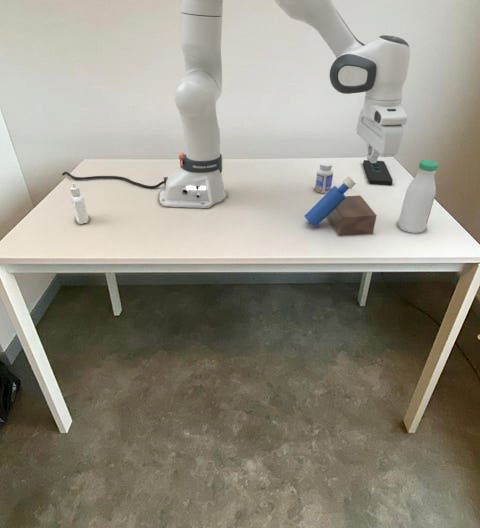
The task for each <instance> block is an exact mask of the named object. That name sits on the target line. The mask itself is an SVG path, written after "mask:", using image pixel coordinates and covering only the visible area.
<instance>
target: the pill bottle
mask: <svg viewBox="0 0 480 528" xmlns="http://www.w3.org/2000/svg"><path fill="white" fill-rule="evenodd" d="M332 168H333V163H332V162H330V161H321V162H320V163H319V168H318V169H317V171H316V177H315V186H314V187H315V191H316V192H317V193H320V194H327V193H328V192H329V191H330V190H331V189H332V187H333V186H332V185H333V178H334V170H333V169H332Z"/></svg>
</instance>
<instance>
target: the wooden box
mask: <svg viewBox="0 0 480 528" xmlns="http://www.w3.org/2000/svg"><path fill="white" fill-rule="evenodd" d="M345 196H346V198H345V199H344V200H343V201H342V202H341V203H340V204H339V205H338V206H337V207H336V208H335V209H334V210H333V211H332V212H331V213H330V214H329V215H328V216H327V218H328V220H329V221H330V224H332V226H333V228H334V230H335V232H336V233H337V234H338V236H355V235H356V236H357V235H373V233H374V231H375V230H374V229H375V225H376V220H377V214H376V213H375V212H374V210H373V209H372V208H371V206H370V205H369V204H368V203H367V202H366V201H365V199H364V198H363V197H362V195H345Z"/></svg>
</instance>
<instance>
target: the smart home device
mask: <svg viewBox="0 0 480 528" xmlns="http://www.w3.org/2000/svg"><path fill="white" fill-rule="evenodd" d="M362 162H363V163H362V166H363V170H364V172H365V175H366V179H367V180H368V181H367V182H368V184H369V185H377V186H392V185H393V181H394V180H393V178H392V175H391V172H390V171H389V169H388V167H387V164H386V162H385V161H384V160H377V162H376V163H371V162H370V161H369V160H368V159H363V161H362Z"/></svg>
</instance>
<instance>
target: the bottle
mask: <svg viewBox="0 0 480 528" xmlns="http://www.w3.org/2000/svg"><path fill="white" fill-rule="evenodd" d="M356 184H357V183H356V182H355V181H354V180H353V179H352V178H351V177H350V176H347V177H346V178H345V179H344V180H343V183H342V184H341V185H340V186H339V187H337V186H336V185H333V186H332V187H331V190H330V191H329V192H328V193H325V194H324V195H323V196H322V198H320V200H319V201H318V202H316V203H315V205H313V206H312V208H310V210H308V211H307V212H306V214H304V218H305V219H306V221H307V222H308V223H309V224H310V225H311V226H313V227H314V228H317V227H318V226H319V225H320V224H321V223H322V222H323V221H324V220H326V218H328V215H329V214H330V213H331V212H332V211H333V210H334V209H335V208H336V207H337V206H338V205H339V204H340V203H341V202H342V201H343V200H344V199H345V198H346V196H347V195H345V193H346V192H347V191H348V190H349V189H352V188H353V187H354V186H356Z"/></svg>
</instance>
